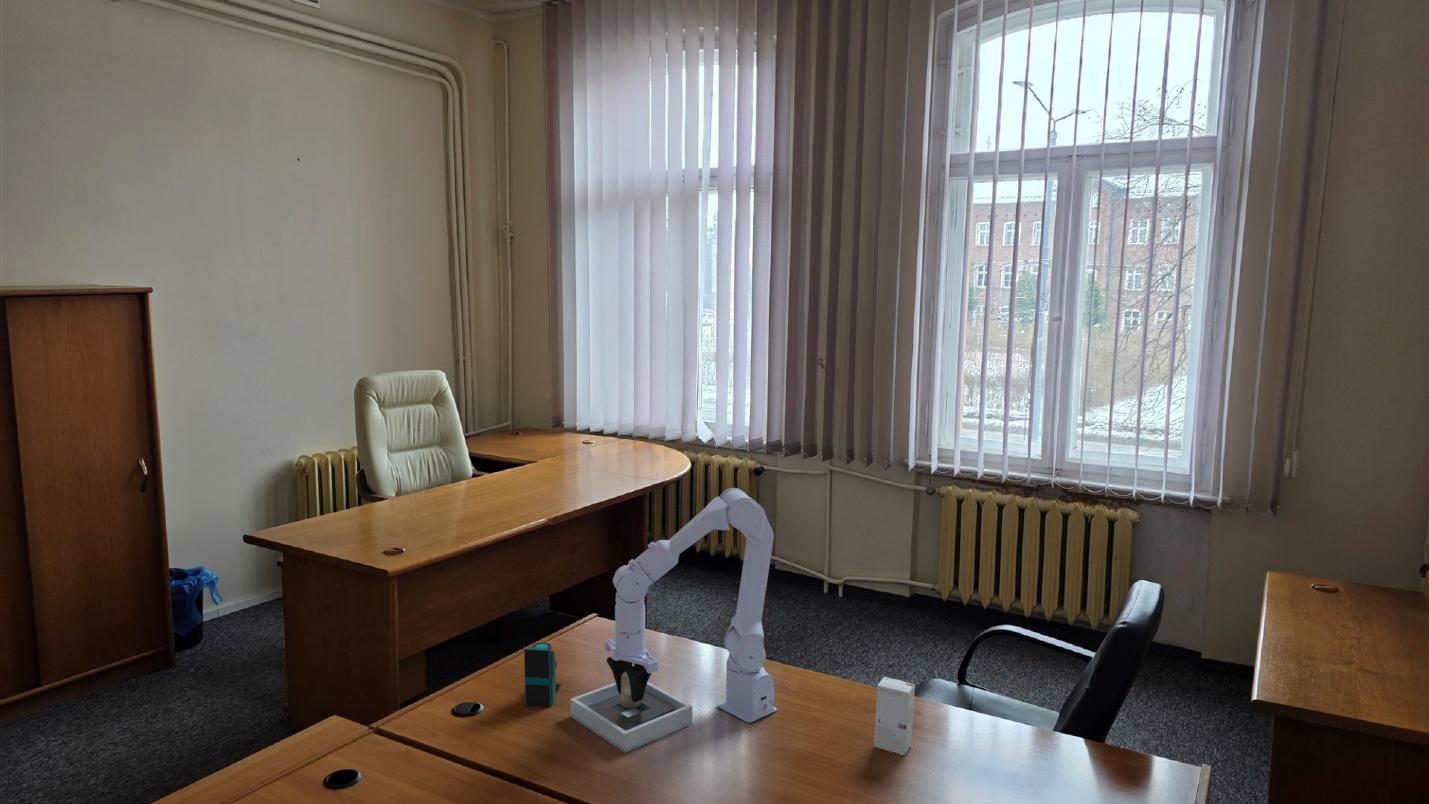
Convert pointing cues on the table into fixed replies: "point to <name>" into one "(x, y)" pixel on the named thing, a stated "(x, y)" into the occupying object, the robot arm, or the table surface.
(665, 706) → the plate
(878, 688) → the skincare box
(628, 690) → the peg
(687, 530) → the robot arm
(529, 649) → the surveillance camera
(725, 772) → the table surface
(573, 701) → the tray
